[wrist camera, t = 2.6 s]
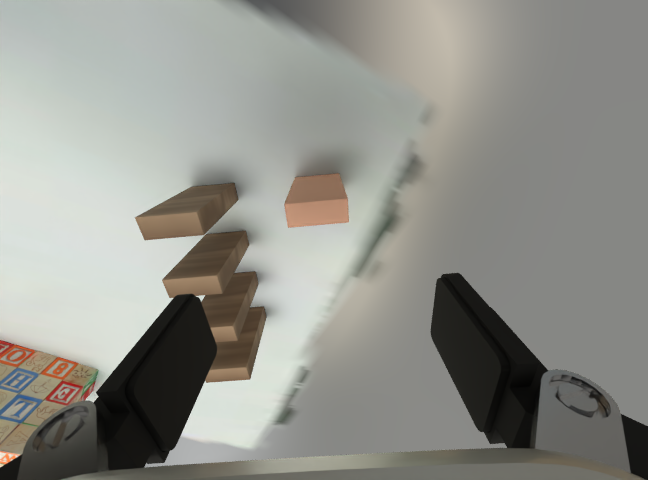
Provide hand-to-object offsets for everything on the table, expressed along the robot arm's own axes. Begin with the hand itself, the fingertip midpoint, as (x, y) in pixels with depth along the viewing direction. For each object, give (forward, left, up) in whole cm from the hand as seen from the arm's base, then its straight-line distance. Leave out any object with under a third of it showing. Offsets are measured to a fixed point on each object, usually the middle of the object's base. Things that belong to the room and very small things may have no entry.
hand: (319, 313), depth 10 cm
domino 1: (0, -12, -22) cm, 25 cm away
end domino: (0, 0, -22) cm, 22 cm away
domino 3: (+12, -12, -22) cm, 27 cm away
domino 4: (+18, -12, -22) cm, 31 cm away
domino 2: (+6, -12, -22) cm, 25 cm away
